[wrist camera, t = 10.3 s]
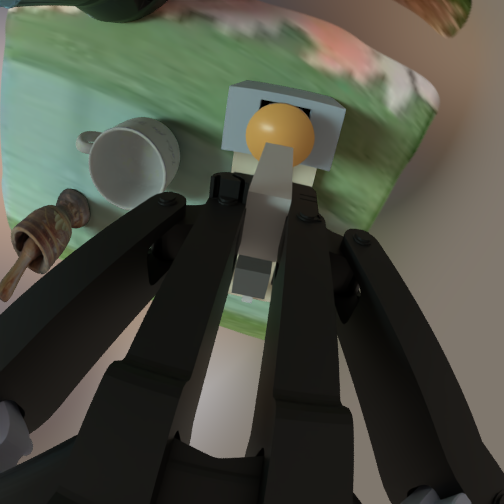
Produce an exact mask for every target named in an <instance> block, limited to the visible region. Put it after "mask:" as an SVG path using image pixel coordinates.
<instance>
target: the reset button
mask: <svg viewBox="0 0 504 504" xmlns="http://www.w3.org/2000/svg"><path fill="white" fill-rule="evenodd" d="M314 141H315V135H314V129H313V126H312V123H311V121H310V119H309V117H308V116H307V115H306V114H305V113H304V112H303V109H301V108H298V107H296V106H294V105H291V104H288V103H271V102H270V103H269V104H268V105H266V106H264V107H262V108H261V109H259V110H258V111H257V112H256V113H255V114H254V115H253V116H252V118H251V119H250V121H249V123H248V125H247V129H246V143H247V146H248V148H249V150H250V152H251V154H252V155H253V156H254V157H255V158H256V159H257V160H258V161H259V160H260V157H261V154H262V152H263V149H264V146H265V144H266V142H267V143H272V144H277V145H282V146H287V147H292V148H293V167H294V166H296V165H298V164H300V163H302V162H303V161H304V160H305V159H306V158H307V157H308V156H309V154H310V153H311V151H312V149H313V146H314Z"/></svg>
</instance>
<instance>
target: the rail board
mask: <svg viewBox="0 0 504 504" xmlns="http://www.w3.org/2000/svg"><path fill="white" fill-rule="evenodd" d="M258 163H259V161H258V160H257V159H256V158H255V157H254V156H253V155H252V154H246V153H241V152H235V151H234V155H233V162H232V170H231V173H234V172H239V173H244V174H255V171H256V168H257V165H258ZM316 170H317V168H314V167H310V166H305V165H301V164H298V165H296V166H294V167H293V175H292V182H293V183H298V184H302V185H307V186H311V187H312V185H313V181H314V178H315V174H316ZM238 256H239V254H238ZM238 256H237V259H238ZM276 261H277V260H276ZM236 263H237V262H236ZM275 265H276V262H273V261H272V268H271V275H270V279H269V283H268V287H267V291H266V294H265V298H264V299H260V298H255V297H250V296H245V295H240V294H235V293H231V292H232V285H233V279H234V273H233V277H232V280H231V284H230V288H229V291H228V294H232V295H237V296H242V301H243V302H248V303H252V299H256V300H261V301H266V302H270V299H271V291H272V285H270V284H271V280H272V276H273V273H274V269H275ZM235 267H236V266H235ZM234 272H235V270H234Z"/></svg>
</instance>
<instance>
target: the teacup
mask: <svg viewBox="0 0 504 504" xmlns="http://www.w3.org/2000/svg"><path fill="white" fill-rule="evenodd" d="M89 142H94V143H89ZM76 147H77V149H78V150H79V151H81V152H82V153H86V154H89V171H90V175H91V178H92V181H93V183H94V185H95V187H96V188H97V190H98V191H99V192H100V194H101V195H102V196H103V197H104V198H105V199H106V200H107V201H109V202H110V203H112V204H113V205H115V206H117V207H119V208H122V209H125V210H132V209H134V208H135V207H137V206H138V205H140V204H141V203H143V202H144V201H146V200H147V199H149V198H150V197H152V196H154V195H156V194H158V193H163V192H164V191H165V189H166V188H167V187H168V185H169V184H170V183H171V181H172V180H173V178H174V177H175V175H176V173H177V170H178V168H179V164H180V149H179V145H178V142H177V140H176V138H175V136H174V134H173V133H172V132H171V131H170V129H169V128H168V127H166V126H165V125H164V124H163V123H161V122H159V121H157V120H155V119H152V118H146V117H139V118H133V119H130V120H127V121H125V122H123V123H121V124H119V125H117V126H115V127H113V128H111V129H108V130H106V131H104V132H103V133H102V132H95V131H87V132H83V133H81V134H80V135H79V136H78V137H77V140H76Z"/></svg>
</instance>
